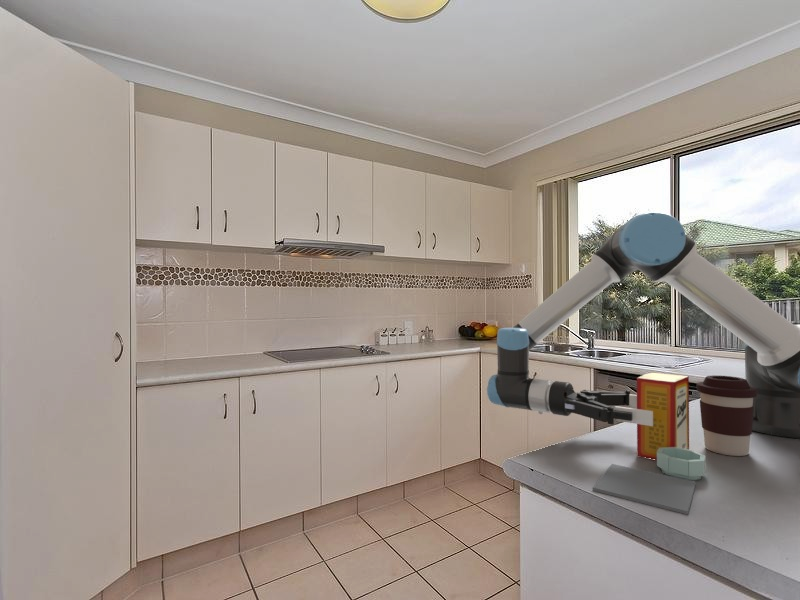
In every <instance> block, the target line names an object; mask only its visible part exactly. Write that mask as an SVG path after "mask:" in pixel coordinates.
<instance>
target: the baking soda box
mask: <svg viewBox="0 0 800 600" xmlns="http://www.w3.org/2000/svg"><path fill="white" fill-rule="evenodd" d="M689 380H690V378H689V376H688V375H679V374H669V373H662V372H649V373H645V374H643V375H640V376H638V377H636V395H637V408H636V409H641V410H649V411H653V426H647V425H641V424H636V441H637V442H636V450H637V451H636V452H637V453H636V454H637V455H636V456H637V457H638V456H641V457H640V458H642V457H646V458H651V459H655V460H657V451H658V449H659V448H661V447H677V448H683V449H688V450H690V395H689V393H690V385H689V383H690V382H689ZM646 458H645V459H646ZM651 459H650V460H651ZM655 460H654V461H655Z"/></svg>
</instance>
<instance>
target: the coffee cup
mask: <svg viewBox="0 0 800 600" xmlns="http://www.w3.org/2000/svg"><path fill="white" fill-rule="evenodd" d="M696 391H697V392H698V393H700V399H699V408H700V417H701V418H700V420H701V427H702V429H703V440H704V441H703V442H704V447H705V448H706V449H707V450H708V451H711V452H713V453H716V454H720V455H723V456H724V455H725V456H731V457H745V456H747V455H748V454H749V453H750V442H751V435H752V434H753V430H752V425H753V413H754V406H753V398H754V397H756V396H757V389H756V388H755V387H752V386H749V384H748V382H747V380H746V378H743V377H737V376H732V375H731V376H730V375H713V374H712V375H707V376H705V378H704V380H703V381H699V382H697V383H696Z"/></svg>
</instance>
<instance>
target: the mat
mask: <svg viewBox="0 0 800 600" xmlns="http://www.w3.org/2000/svg"><path fill="white" fill-rule="evenodd" d="M696 484H697V481H696V480H686V479H681V478H677V477H672V476H668V475H666V474H661V473H657V472H652V471H649V470H643V469H639V468H638V469H637V468H633V467H628V466H625V465H624V466H623V465H620V464H615V463H611V464H610V465H609V466H608V468H607V469H606V470H605V471H604V473H603V474H602V475H601V476H600V478H599V479H598V481H597V482H596V483H595V484H594V485H593V486H592V491H594V492H598V493H601V494H605V495H610V496H612V497H617V498H620V499H625V500H627V501H633V502H637V503H639V504H644V505H648V506H652V507H656V508H661V509H664V510H668V511H672V512H675V513H679V514H684V515H689V512H690V510H691V509H690V508H691V504H692V501H693V496H694V493H695V490H694V489H696V486H695V485H696Z"/></svg>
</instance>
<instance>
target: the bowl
mask: <svg viewBox="0 0 800 600" xmlns="http://www.w3.org/2000/svg"><path fill="white" fill-rule="evenodd" d="M706 460H707V459H706V455H704V454H702V453H700V452H697V451H695V450H693V449H689V450H688V449H683V448H677V447H661V448H659V449H658V451H657V461H656V466H657V467H659V468H660V469H661V470H662V471H661V472H662V473H663V474H664V473H665V474H664V475H666V474H667V476H668V475H669V476H672V477H677V478H681V479H686V480H691V481H698V480H697V479H699V480H701V479H702V476H705V474H706V469H707V468H706V467H707V466H706V465H707V463H706ZM700 478H701V479H700Z"/></svg>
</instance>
